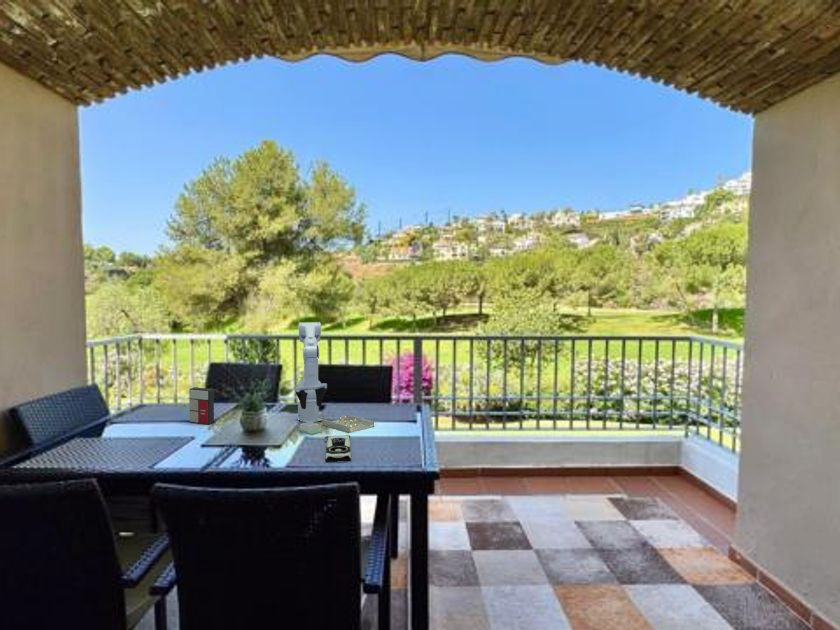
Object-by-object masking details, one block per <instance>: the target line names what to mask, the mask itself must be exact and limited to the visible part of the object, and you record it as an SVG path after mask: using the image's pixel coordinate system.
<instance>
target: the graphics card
mask: <svg viewBox="0 0 840 630" xmlns="http://www.w3.org/2000/svg"><path fill="white" fill-rule="evenodd" d="M324 439H325V440H324V443H325V444H326V450H325V463H338V462H337V461H351V462H352V449H351V447H352V446H351V445H352V444H351V435H350V434H344V435H343V434H342V435H340V434H339V435H326V436H324ZM334 442H335V443H334Z"/></svg>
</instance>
